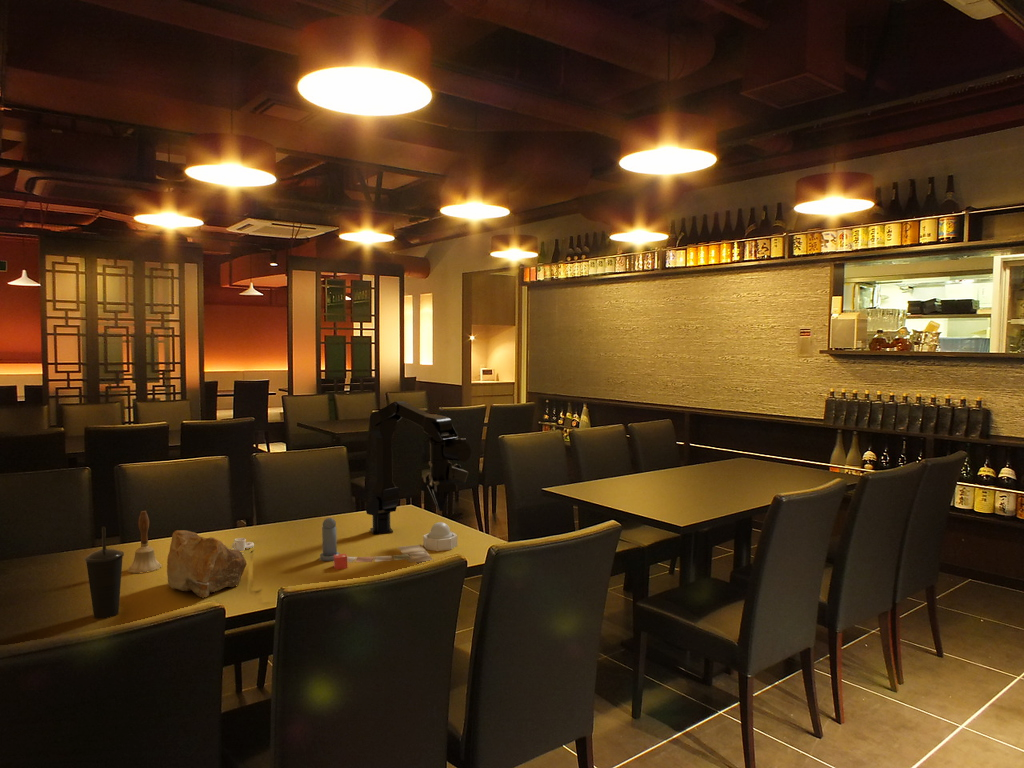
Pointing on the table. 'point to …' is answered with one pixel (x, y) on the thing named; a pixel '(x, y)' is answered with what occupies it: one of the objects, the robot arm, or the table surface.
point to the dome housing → (440, 543)
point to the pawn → (329, 540)
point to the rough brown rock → (202, 564)
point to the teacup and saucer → (242, 544)
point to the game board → (409, 552)
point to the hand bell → (144, 550)
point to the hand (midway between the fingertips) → (440, 510)
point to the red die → (340, 561)
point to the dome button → (440, 531)
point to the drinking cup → (105, 579)
